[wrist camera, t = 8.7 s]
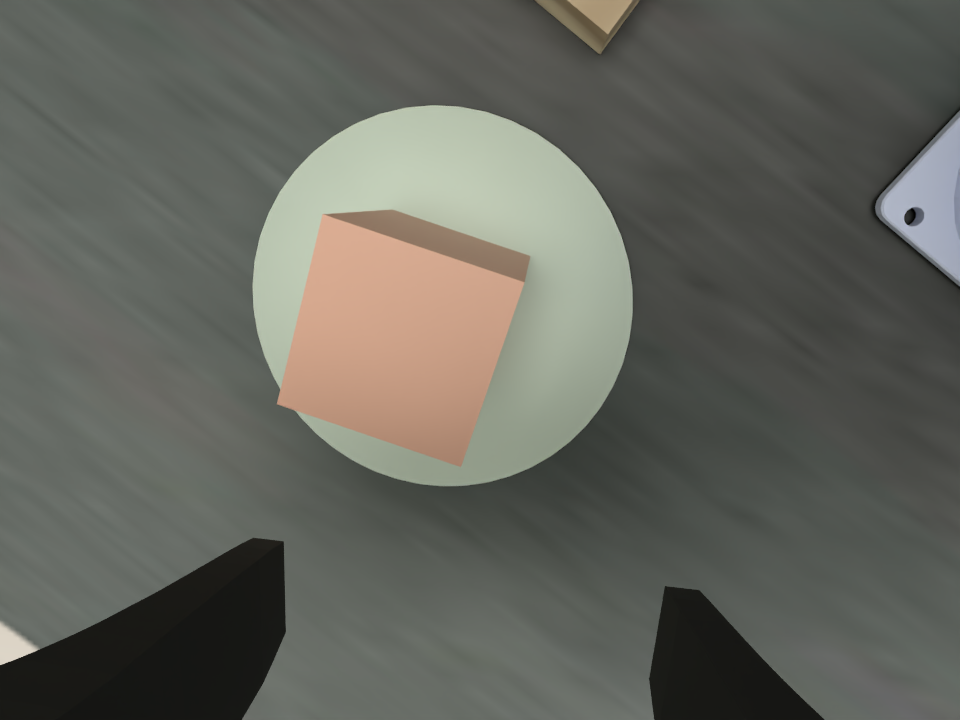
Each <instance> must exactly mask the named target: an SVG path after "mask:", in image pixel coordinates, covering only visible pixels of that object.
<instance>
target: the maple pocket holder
mask: <svg viewBox="0 0 960 720" xmlns="http://www.w3.org/2000/svg"><path fill="white" fill-rule="evenodd" d="M535 1H536V2H537V3H538V4H539V5H541V6H542V7H543V8H544V9H545V10H547V11H548V12H549V13H550V14H551V15H553V16H554V17H555V18H556V19H557V20H559V21H560V22H561V23H562V24H563V25H565V26H566V27H567V28H568V29H570V30H571V31H572V32H573V33H574V34H576V35H577V36H578V37H579V38H580V39H582V40H583V41H584V42H585V43H586V44H588V45H589V46H590V47H591V48H592V49H594V50H595V51H596V52H597V53H598V54H601V53H602V51H603V50H604V48H605V47H606V46H607V44H608V43H609V42H610V40H611V39H612V38H613V36H614V35H615V34H616V32H617V31H618V29H619V28H620V27H621V25H622V24H623V23H624V21H625V20H626V19H627V17H628V16H629V15H630V13H631V12H632V10H633V9H634V8H635V6H636V5H637V4H638V2H639V1H640V0H535Z"/></svg>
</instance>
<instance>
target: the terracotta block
mask: <svg viewBox="0 0 960 720" xmlns="http://www.w3.org/2000/svg"><path fill="white" fill-rule="evenodd" d="M529 260H530V256H529V255H526V254H523V253H520V252H517V251H514V250H511V249H508V248H505V247H502V246H499V245H496V244H493V243H490V242H487V241H484V240H481V239H478V238H476V237H473V236H470V235H467V234H464V233H461V232H458V231H455V230H452V229H449V228H446V227H443V226H440V225H437V224H434V223H431V222H428V221H425V220H422V219H419V218H416V217H413V216H410V215H407V214H404V213H401V212H398V211H395V210H377V211H362V212H347V213H332V214H322V218H321V223H320V227H319V231H318V235H317V239H316V244H315V248H314V252H313V256H312V260H311V264H310V269H309V273H308V277H307V281H306V285H305V289H304V294H303V298H302V302H301V306H300V310H299V315H298V319H297V323H296V327H295V331H294V335H293V340H292V344H291V348H290V352H289V356H288V360H287V365H286V369H285V373H284V377H283V381H282V386H281V390H280V394H279V398H278V402H277V404H278V405H281V406H284V407H287V408H290V409H293V410H295V411H298V412H301V413H304V414H307V415H310V416H313V417H316V418H319V419H322V420H325V421H328V422H331V423H333V424H336V425H339V426H342V427H345V428H348V429H351V430H354V431H357V432H360V433H363V434H366V435H368V436H371V437H374V438H377V439H380V440H383V441H386V442H389V443H392V444H395V445H398V446H401V447H404V448H406V449H409V450H412V451H415V452H418V453H421V454H424V455H427V456H430V457H433V458H436V459H439V460H441V461H444V462H447V463H450V464H453V465H456V466H459V467H461V465H462V463H463V460H464V457H465V454H466V451H467V448H468V445H469V442H470V439H471V436H472V434H473V431H474V428H475V425H476V422H477V419H478V416H479V413H480V410H481V407H482V405H483V402H484V399H485V396H486V393H487V390H488V387H489V384H490V381H491V378H492V375H493V373H494V370H495V367H496V364H497V361H498V358H499V355H500V352H501V349H502V346H503V344H504V341H505V338H506V335H507V332H508V329H509V326H510V323H511V320H512V317H513V315H514V312H515V309H516V306H517V303H518V300H519V297H520V294H521V291H522V288H523V286H524V283H525V278H526V274H527V269H528V265H529Z"/></svg>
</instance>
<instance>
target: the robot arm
mask: <svg viewBox="0 0 960 720" xmlns="http://www.w3.org/2000/svg"><path fill="white" fill-rule="evenodd" d="M910 208H913V209H914V210H915V212H916V218H915V220H914V221H913V222H912V223H911V224H909V225H907V224H906V223H905V221H904V215H905V213H906V212H907V210H909V209H910ZM875 210H876V215H877V216H878V217H879V219H880V220H881V221H882V222H884V223H885V224H886V225H887V226H888V227H889V228H891V229H892V230H893V231H894V232H895V233H897V234H898V235H899V236H900V237H901V238H903V239H904V240H905V241H906V242H907V243H908V244H910V245H911V246H912V247H913V248H914V249H916V250H917V251H918V252H919V253H920V254H922V255H923V256H924V257H925V258H926V259H927V260H929V261H930V262H931V263H932V264H933V265H935V266H936V267H937V268H938V269H939V270H941V271H942V272H943V273H944V274H945V275H946V276H948V277H949V278H950V279H951V280H952V281H954V282H955V283H956V284H957V285H958V286H960V111H959V112H958V113H957V114H956V115H955V116H954V117H953V118H952V119H951V120H950V121H949V123H948V124H947V125H946V126H945V127H944V128H943V129H942V130H941V131H940V132H939V133H938V134H937V135H936V136H935V137H934V138H933V140H932V141H931V142H930V143H929V144H928V145H927V146H926V147H925V148H924V149H923V150H922V151H921V152H920V153H919V154H918V155H917V157H916V158H915V159H914V160H913V161H912V162H911V163H910V164H909V165H908V166H907V167H906V168H905V169H904V170H903V171H902V172H901V174H900V175H899V176H898V177H897V178H896V179H895V180H894V181H893V182H892V183H891V184H890V185H889V186H888V187H887V188H886V189H885V191H884V192H883V193H882V194H881V195H880V197H879V198H878V200H877V202H876V206H875ZM285 632H286V624H285V581H284V541H275V540H267V539H258V538H252V539H250V540H248V541H246V542H244V543H242V544H240V545H238V546H237V547H235V548H233V549H231V550H229V551H228V552H226V553H224V554H222V555H221V556H219V557H217V558H215V559H214V560H212V561H210V562H209V563H207V564H205V565H203V566H202V567H200V568H198V569H197V570H195V571H193V572H191V573H190V574H188V575H186V576H184V577H183V578H181V579H179V580H177V581H176V582H174V583H172V584H170V585H169V586H167V587H165V588H163V589H162V590H160V591H158V592H156V593H154V594H152V595H151V596H149V597H147V598H145V599H143V600H141V601H139V602H137V603H135V604H133V605H131V606H130V607H128V608H126V609H124V610H122V611H120V612H118V613H116V614H114V615H112V616H110V617H109V618H107V619H105V620H103V621H101V622H99V623H97V624H95V625H93V626H91V627H89V628H87V629H84V630H82V631H80V632H78V633H76V634H74V635H72V636H69V637H67V638H65V639H63V640H60V641H58V642H56V643H54V644H51V645H49V646H47V647H44V648H42V649H40V650H38V651H35V652H33V653H31V654H28V655H26V656H23V657H21V658H18V659H16V660H13V661H11V662H8V663H5V664H3V665H0V720H242V718H243V717H244V715H245V713H246V712H247V710H248V708H249V706H250V705H251V703H252V701H253V700H254V698H255V696H256V695H257V693H258V691H259V689H260V688H261V686H262V684H263V682H264V680H265V678H266V676H267V673H268V671H269V669H270V667H271V665H272V663H273V660H274V658H275V656H276V653H277V651H278V649H279V646H280V644H281V642H282V639H283V637H284V635H285ZM649 681H650V689H651V697H652V705H653V712H654V719H655V720H824V719H823V718H822V717H821V716H820V715H819V714H818V713H817V712H816V711H815V710H814V709H813V708H812V707H810V706H809V705H808V704H807V703H806V702H805V701H804V700H803V699H802V698H801V697H800V696H799V695H798V694H797V693H796V692H795V691H794V690H793V689H792V688H791V687H790V686H789V685H788V684H787V683H786V682H785V681H784V680H783V679H782V678H781V677H780V676H779V675H778V674H777V673H776V672H775V671H774V670H773V669H772V668H771V667H770V666H769V665H768V664H767V663H766V662H765V661H764V660H763V659H762V658H761V657H760V656H759V655H758V654H757V652H756V651H755V650H754V649H753V648H752V647H751V646H750V645H749V644H748V643H747V642H746V641H745V640H744V638H743V637H742V636H741V635H740V634H739V633H738V632H737V631H736V630H735V629H734V628H733V626H732V625H731V624H730V623H729V622H728V621H727V620H726V619H725V618H724V616H723V615H722V614H721V613H720V612H719V611H718V610H717V609H716V608H715V607H714V605H713V604H712V603H711V602H710V601H709V600H708V599H707V598H706V597H705V596H704V595H703V594H702V593H701V592H700V591H699V590H692V589H684V588H675V587H667V586H665V590H664V595H663V601H662V607H661V613H660V619H659V625H658V631H657V637H656V643H655V648H654V654H653V660H652V666H651V672H650V678H649Z"/></svg>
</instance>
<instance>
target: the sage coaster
mask: <svg viewBox="0 0 960 720" xmlns="http://www.w3.org/2000/svg"><path fill="white" fill-rule="evenodd" d="M377 210H395V211H398V212H401V213H404V214H407V215H410V216H413V217H416V218H419V219H422V220H425V221H428V222H431V223H434V224H437V225H440V226H443V227H446V228H449V229H452V230H455V231H458V232H461V233H464V234H467V235H470V236H473V237H476V238H478V239H481V240H484V241H487V242H490V243H493V244H496V245H499V246H502V247H505V248H508V249H511V250H514V251H517V252H520V253H523V254H526V255H529V256H530V260H529V265H528V269H527V274H526V278H525V283H524V286H523V288H522V291H521V294H520V297H519V300H518V303H517V306H516V309H515V312H514V315H513V317H512V320H511V323H510V326H509V329H508V332H507V335H506V338H505V341H504V344H503V346H502V349H501V352H500V355H499V358H498V361H497V364H496V367H495V370H494V373H493V375H492V378H491V381H490V384H489V387H488V390H487V393H486V396H485V399H484V402H483V405H482V407H481V410H480V413H479V416H478V419H477V422H476V425H475V428H474V431H473V434H472V436H471V439H470V442H469V445H468V448H467V451H466V454H465V457H464V460H463V463H462V465H461V467H459V466H456V465H453V464H450V463H447V462H444V461H441V460H439V459H436V458H433V457H430V456H427V455H424V454H421V453H418V452H415V451H412V450H409V449H406V448H404V447H401V446H398V445H395V444H392V443H389V442H386V441H383V440H380V439H377V438H374V437H371V436H368V435H366V434H363V433H360V432H357V431H354V430H351V429H348V428H345V427H342V426H339V425H336V424H333V423H331V422H328V421H325V420H322V419H319V418H316V417H313V416H310V415H307V414H304V413H301V412H298V411H296V412H297V413H298V415H299V416H300V417H301V418H302V419H303V420H304V421H305V422H306V423H307V425H308V426H309V427H310V428H311V429H312V430H313V431H314V432H315V433H316V434H317V435H319V436H320V437H321V438H322V439H323V440H325V441H326V442H327V443H328V444H329V445H331V446H332V447H333V448H334V449H336V450H337V451H339V452H341V453H342V454H344V455H345V456H347V457H348V458H350V459H351V460H353V461H355V462H357V463H359V464H361V465H363V466H365V467H367V468H369V469H371V470H373V471H375V472H378V473H381V474H384V475H387V476H390V477H392V478H395V479H399V480H404V481H408V482H412V483H417V484H425V485H435V486H466V485H473V484H480V483H487V482H491V481H495V480H498V479H502V478H506V477H509V476H512V475H514V474H517V473H519V472H522V471H524V470H526V469H529V468H531V467H533V466H535V465H536V464H538V463H540V462H542V461H543V460H545V459H547V458H549V457H550V456H552V455H553V454H555V453H556V452H557V451H558V450H560V449H561V448H562V447H564V446H565V445H566V444H568V443H569V442H570V441H571V440H572V439H573V438H574V437H575V436H576V435H577V434H578V433H579V432H580V431H581V430H582V429H583V428H584V427H586V426H587V424H588V423H589V422H590V420H591V419H592V418H593V417H594V415H595V414H596V413H597V411H598V410H599V409H600V408H601V406H602V404H603V403H604V401H605V399H606V398H607V396H608V394H609V393H610V391H611V389H612V387H613V386H614V383H615V381H616V379H617V376H618V374H619V371H620V369H621V367H622V364H623V361H624V357H625V354H626V350H627V346H628V342H629V338H630V331H631V323H632V315H633V290H632V281H631V274H630V267H629V261H628V258H627V254H626V251H625V247H624V244H623V240H622V237H621V234H620V232H619V230H618V228H617V225H616V223H615V221H614V218H613V216H612V214H611V212H610V210H609V209H608V207H607V205H606V204H605V202H604V200H603V199H602V197H601V195H600V194H599V192H598V191H597V189H596V188H595V186H594V185H593V184H592V183H591V182H590V180H589V179H588V178H587V177H586V175H585V174H584V173H583V172H582V171H581V169H580V168H579V167H578V166H577V165H576V164H575V163H573V162H572V161H571V160H570V159H569V158H568V157H567V156H566V155H565V154H564V153H563V152H562V151H561V150H560V149H558V148H557V147H555V146H554V145H552V144H551V143H550V142H548V141H547V140H545V139H544V138H542V137H541V136H540V135H538V134H537V133H535V132H533V131H531V130H529V129H527V128H525V127H523V126H521V125H519V124H517V123H515V122H513V121H511V120H508V119H505V118H502V117H499V116H497V115H494V114H491V113H488V112H484V111H479V110H474V109H469V108H463V107H455V106H435V105H431V106H420V107H409V108H403V109H399V110H394V111H390V112H386V113H382V114H379V115H376V116H374V117H371V118H369V119H366V120H363V121H361V122H358V123H356V124H354V125H352V126H351V127H349V128H347V129H345V130H344V131H342V132H340V133H338V134H337V135H335V136H333V137H332V138H331V139H329V140H328V141H327V142H325V143H324V144H323V145H322V146H320V147H319V148H318V149H317V150H315V151H314V152H313V153H312V154H311V155H310V156H309V157H308V158H307V159H306V160H305V161H304V162H303V163H302V164H301V165H300V166H299V167H298V168H297V169H296V170H295V172H294V173H293V174H292V176H291V177H290V179H289V180H288V181H287V183H286V184H285V185H284V187H283V188H282V190H281V191H280V193H279V195H278V197H277V199H276V200H275V202H274V204H273V206H272V208H271V210H270V212H269V214H268V216H267V219H266V222H265V225H264V227H263V230H262V233H261V236H260V239H259V244H258V248H257V253H256V257H255V264H254V275H253V306H254V314H255V320H256V326H257V332H258V336H259V339H260V343H261V346H262V349H263V353H264V356H265V358H266V361H267V363H268V365H269V367H270V370H271V372H272V374H273V377H274V379H275V380H276V382H277V384H278V385H279V387H280V389H281V386H282V381H283V377H284V373H285V369H286V365H287V360H288V356H289V352H290V348H291V344H292V340H293V335H294V331H295V327H296V323H297V319H298V315H299V310H300V306H301V302H302V298H303V294H304V289H305V285H306V281H307V277H308V273H309V269H310V264H311V260H312V256H313V252H314V248H315V244H316V239H317V235H318V231H319V227H320V223H321V218H322V214H332V213H347V212H362V211H377Z"/></svg>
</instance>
